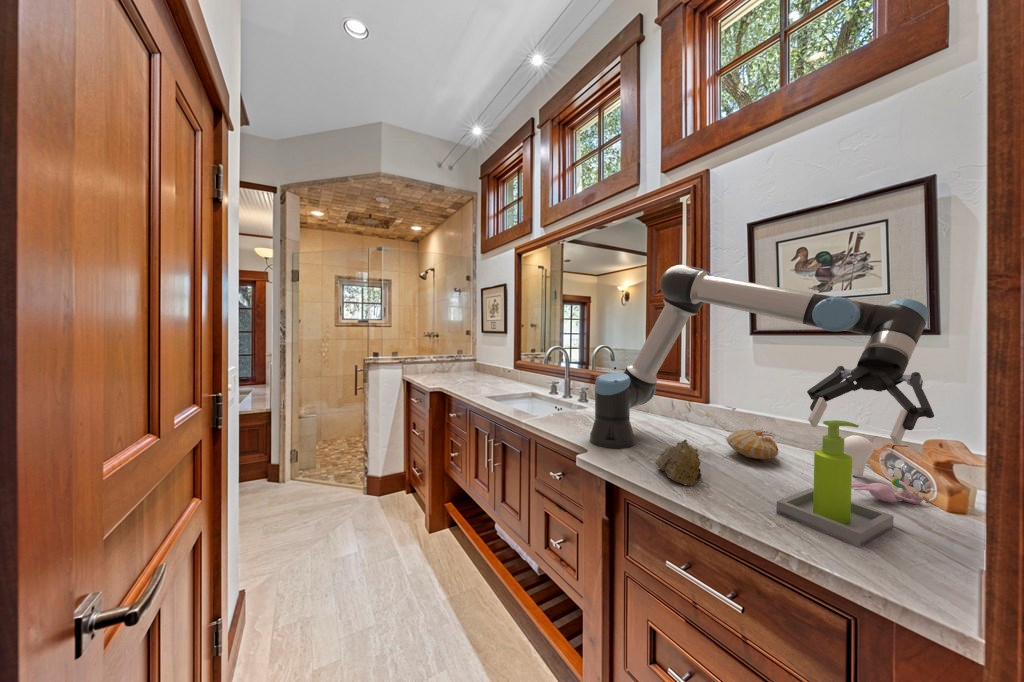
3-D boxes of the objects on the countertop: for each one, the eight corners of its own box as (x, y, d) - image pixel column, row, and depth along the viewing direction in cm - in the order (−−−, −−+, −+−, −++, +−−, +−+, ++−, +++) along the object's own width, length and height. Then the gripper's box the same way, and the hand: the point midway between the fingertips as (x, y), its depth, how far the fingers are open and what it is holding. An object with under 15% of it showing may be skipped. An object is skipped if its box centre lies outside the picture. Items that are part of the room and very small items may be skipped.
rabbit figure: (907, 501, 87) (839, 489, 89) (913, 477, 87) (845, 465, 88) (935, 515, 81) (861, 501, 82) (941, 489, 80) (867, 475, 82)
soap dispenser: (864, 525, 73) (867, 426, 72) (824, 522, 74) (826, 425, 73) (843, 510, 79) (846, 418, 77) (806, 507, 80) (808, 417, 79)
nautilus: (755, 445, 126) (805, 462, 112) (712, 450, 117) (760, 469, 103) (757, 422, 125) (808, 436, 111) (714, 426, 116) (763, 442, 103)
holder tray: (776, 512, 80) (776, 501, 80) (810, 498, 86) (811, 487, 86) (859, 547, 67) (860, 533, 67) (893, 528, 73) (893, 515, 73)
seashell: (681, 468, 108) (678, 434, 108) (716, 484, 93) (713, 444, 94) (646, 472, 106) (643, 437, 107) (676, 489, 92) (673, 448, 92)
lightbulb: (879, 481, 95) (881, 439, 94) (855, 481, 95) (857, 439, 94) (857, 471, 101) (858, 432, 101) (835, 472, 101) (836, 432, 101)
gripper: (976, 373, 73) (943, 461, 67) (824, 362, 95) (790, 427, 90) (967, 348, 70) (932, 436, 65) (814, 342, 93) (778, 407, 87)
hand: (850, 431), depth 77 cm, fingers open, 13 cm apart
